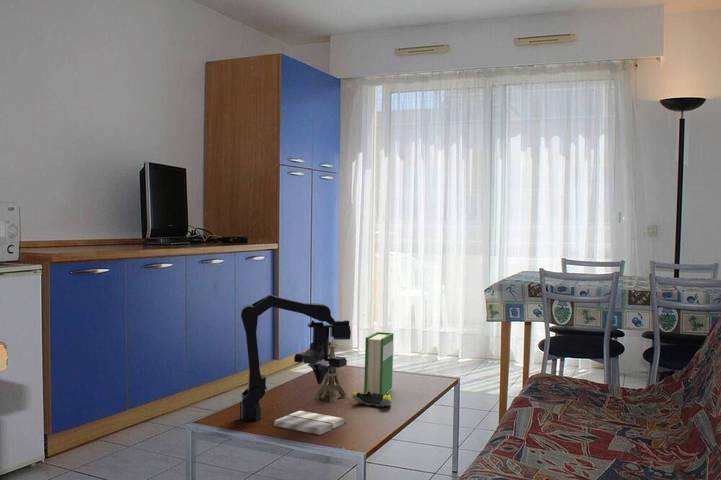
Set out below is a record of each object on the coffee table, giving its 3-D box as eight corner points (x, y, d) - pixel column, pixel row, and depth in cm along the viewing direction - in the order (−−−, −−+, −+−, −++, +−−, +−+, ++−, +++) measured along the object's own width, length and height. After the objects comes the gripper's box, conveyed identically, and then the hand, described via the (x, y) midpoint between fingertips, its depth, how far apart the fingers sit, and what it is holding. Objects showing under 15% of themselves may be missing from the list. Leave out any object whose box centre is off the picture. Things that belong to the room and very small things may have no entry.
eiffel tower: (349, 397, 263) (350, 335, 263) (334, 402, 254) (336, 338, 254) (327, 393, 269) (328, 332, 269) (312, 398, 260) (314, 335, 260)
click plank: (288, 420, 225) (288, 414, 225) (299, 415, 231) (299, 410, 231) (333, 428, 217) (333, 423, 217) (343, 423, 223) (344, 418, 223)
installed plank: (274, 425, 218) (274, 420, 218) (287, 420, 225) (287, 415, 225) (320, 434, 210) (320, 429, 210) (332, 429, 216) (332, 423, 216)
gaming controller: (387, 411, 244) (397, 405, 253) (387, 396, 244) (397, 391, 253) (350, 406, 250) (361, 400, 259) (351, 391, 250) (361, 386, 259)
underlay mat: (272, 427, 218) (272, 425, 218) (300, 416, 233) (300, 414, 233) (320, 437, 209) (320, 435, 209) (347, 424, 224) (347, 423, 224)
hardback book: (381, 398, 262) (383, 338, 262) (363, 397, 264) (365, 337, 264) (391, 389, 279) (393, 333, 279) (375, 388, 281) (376, 332, 281)
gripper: (285, 340, 229) (284, 384, 229) (331, 345, 220) (330, 392, 220) (303, 336, 238) (302, 379, 238) (348, 341, 229) (346, 386, 229)
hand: (319, 384), depth 231 cm, fingers closed
